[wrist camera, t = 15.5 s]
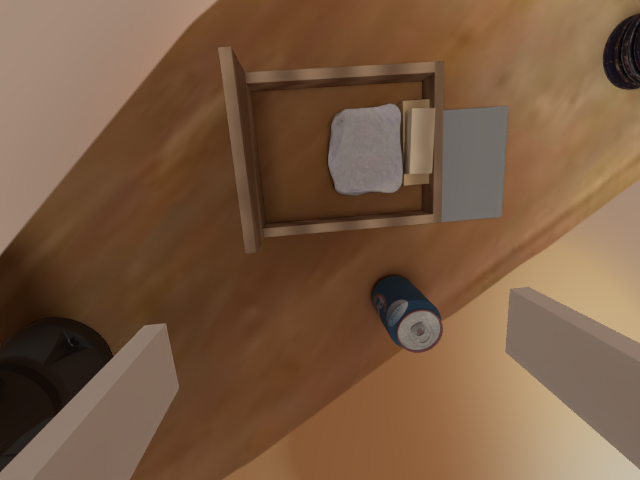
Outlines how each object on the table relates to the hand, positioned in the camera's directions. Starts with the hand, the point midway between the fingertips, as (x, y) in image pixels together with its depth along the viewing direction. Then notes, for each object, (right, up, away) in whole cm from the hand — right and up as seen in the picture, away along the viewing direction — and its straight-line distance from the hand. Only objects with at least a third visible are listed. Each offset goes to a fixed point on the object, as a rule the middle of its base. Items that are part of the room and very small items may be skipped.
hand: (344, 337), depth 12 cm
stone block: (0, +15, +31) cm, 35 cm away
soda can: (+10, -5, +38) cm, 39 cm away
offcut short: (+12, +17, +30) cm, 36 cm away
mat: (+21, +15, +34) cm, 42 cm away
